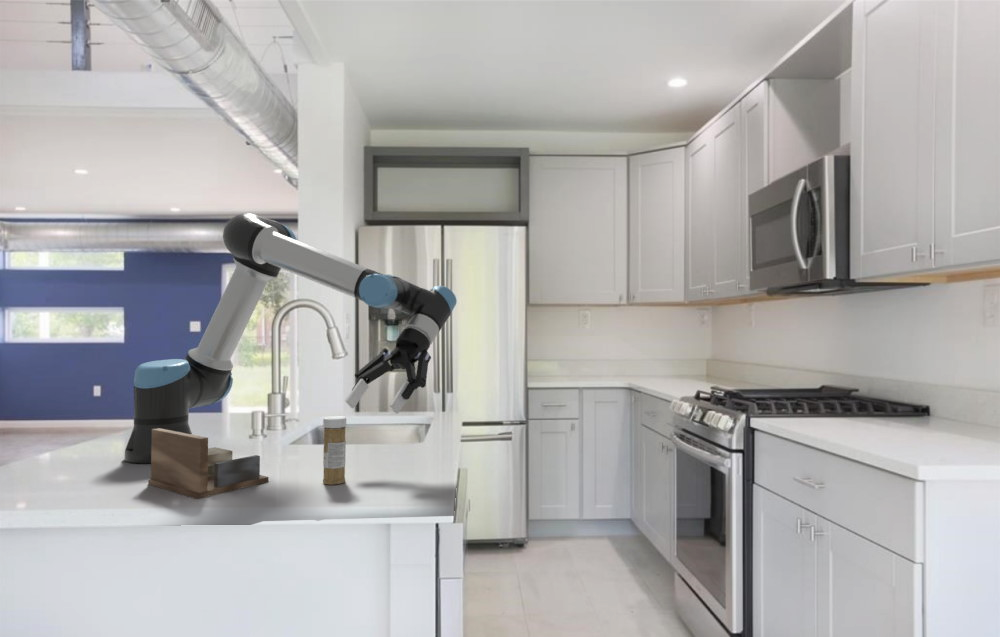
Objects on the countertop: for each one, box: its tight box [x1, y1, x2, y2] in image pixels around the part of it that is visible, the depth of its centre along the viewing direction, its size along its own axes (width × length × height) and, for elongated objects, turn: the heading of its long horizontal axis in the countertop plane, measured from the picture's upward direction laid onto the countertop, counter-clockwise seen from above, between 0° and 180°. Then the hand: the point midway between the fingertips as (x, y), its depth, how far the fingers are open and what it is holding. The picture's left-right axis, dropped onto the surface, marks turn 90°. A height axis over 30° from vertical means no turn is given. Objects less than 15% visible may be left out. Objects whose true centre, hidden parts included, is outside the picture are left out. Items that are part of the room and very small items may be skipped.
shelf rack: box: [147, 428, 269, 500], centre depth 121 cm, size 15×18×11 cm
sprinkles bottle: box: [322, 415, 347, 485], centre depth 122 cm, size 5×5×14 cm
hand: (370, 407), depth 130 cm, fingers open, 13 cm apart
